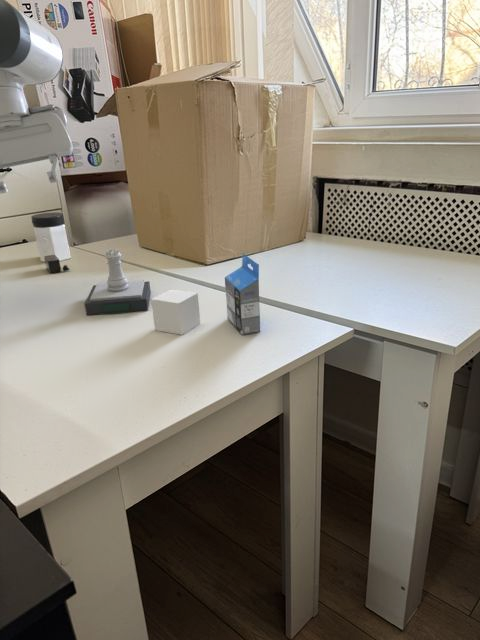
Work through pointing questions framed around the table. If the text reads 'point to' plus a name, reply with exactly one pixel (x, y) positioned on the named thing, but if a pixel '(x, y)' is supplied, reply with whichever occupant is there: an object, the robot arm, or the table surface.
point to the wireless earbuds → (54, 264)
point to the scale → (118, 299)
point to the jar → (51, 235)
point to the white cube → (176, 311)
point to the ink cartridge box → (244, 297)
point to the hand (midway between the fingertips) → (29, 187)
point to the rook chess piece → (115, 272)
